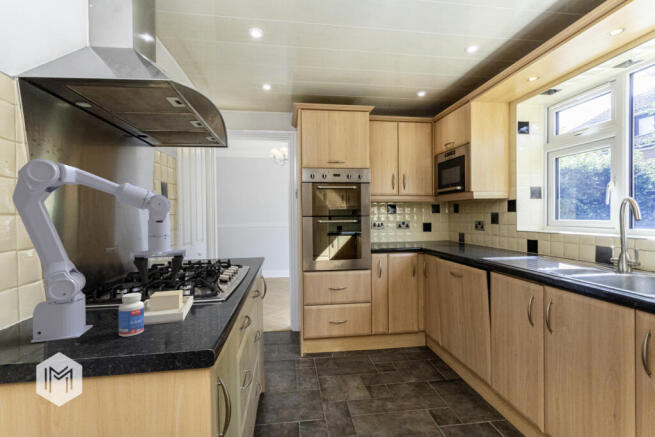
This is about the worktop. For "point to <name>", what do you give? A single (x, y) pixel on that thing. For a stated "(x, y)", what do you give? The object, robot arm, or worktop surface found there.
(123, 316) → the pill bottle
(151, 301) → the egg box
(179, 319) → the white tray
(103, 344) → the worktop surface
